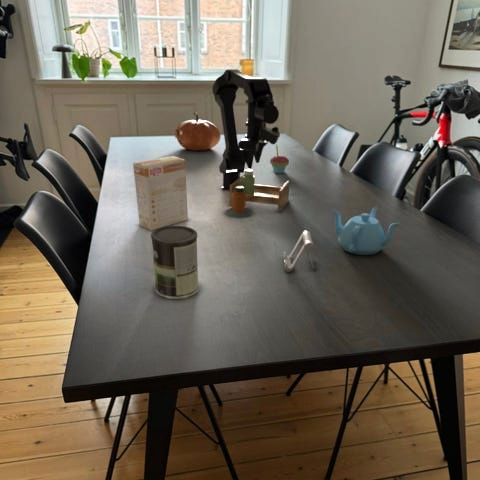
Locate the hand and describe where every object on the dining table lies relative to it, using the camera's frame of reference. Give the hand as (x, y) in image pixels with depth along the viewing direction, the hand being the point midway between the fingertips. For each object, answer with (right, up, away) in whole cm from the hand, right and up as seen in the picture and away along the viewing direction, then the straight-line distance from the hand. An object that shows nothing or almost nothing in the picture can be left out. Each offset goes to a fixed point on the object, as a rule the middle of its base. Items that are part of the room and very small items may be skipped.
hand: (253, 165), depth 165 cm
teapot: (+31, -34, -30) cm, 55 cm away
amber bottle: (-5, -18, -7) cm, 20 cm away
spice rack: (+2, -13, +3) cm, 14 cm away
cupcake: (+13, +11, +44) cm, 48 cm away
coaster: (-5, -18, -6) cm, 20 cm away
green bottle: (-2, -9, +3) cm, 10 cm away
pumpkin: (-28, +36, +85) cm, 96 cm away
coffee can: (-20, -47, -55) cm, 75 cm away
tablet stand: (+11, -41, -42) cm, 60 cm away
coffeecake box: (-30, -24, -16) cm, 41 cm away
